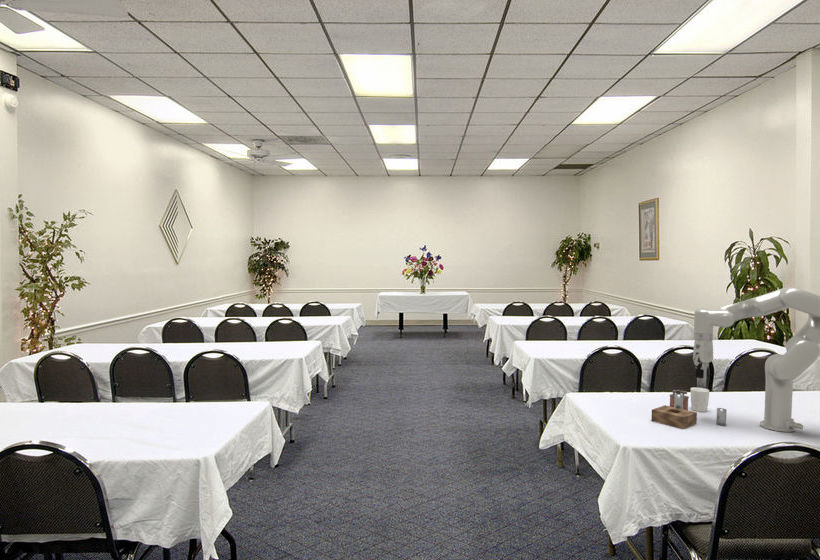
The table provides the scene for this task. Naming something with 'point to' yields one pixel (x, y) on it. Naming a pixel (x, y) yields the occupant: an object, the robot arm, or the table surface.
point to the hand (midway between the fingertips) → (701, 376)
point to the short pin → (721, 416)
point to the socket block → (674, 416)
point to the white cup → (699, 399)
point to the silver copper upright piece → (685, 399)
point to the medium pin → (678, 401)
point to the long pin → (701, 381)
